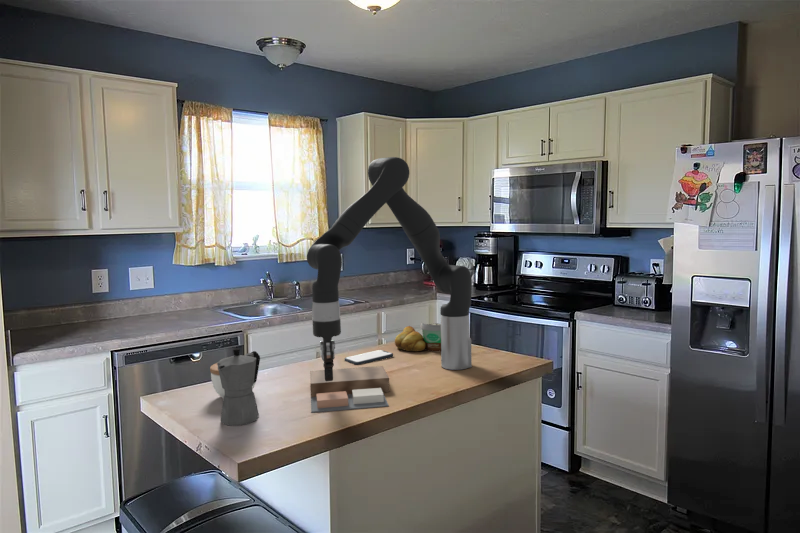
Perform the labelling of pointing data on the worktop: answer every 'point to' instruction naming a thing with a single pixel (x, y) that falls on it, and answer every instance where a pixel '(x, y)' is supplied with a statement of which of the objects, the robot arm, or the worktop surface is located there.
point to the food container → (432, 336)
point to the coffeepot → (239, 388)
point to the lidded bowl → (218, 380)
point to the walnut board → (349, 380)
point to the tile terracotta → (332, 399)
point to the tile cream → (367, 395)
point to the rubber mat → (350, 406)
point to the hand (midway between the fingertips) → (328, 380)
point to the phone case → (368, 357)
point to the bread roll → (410, 340)
